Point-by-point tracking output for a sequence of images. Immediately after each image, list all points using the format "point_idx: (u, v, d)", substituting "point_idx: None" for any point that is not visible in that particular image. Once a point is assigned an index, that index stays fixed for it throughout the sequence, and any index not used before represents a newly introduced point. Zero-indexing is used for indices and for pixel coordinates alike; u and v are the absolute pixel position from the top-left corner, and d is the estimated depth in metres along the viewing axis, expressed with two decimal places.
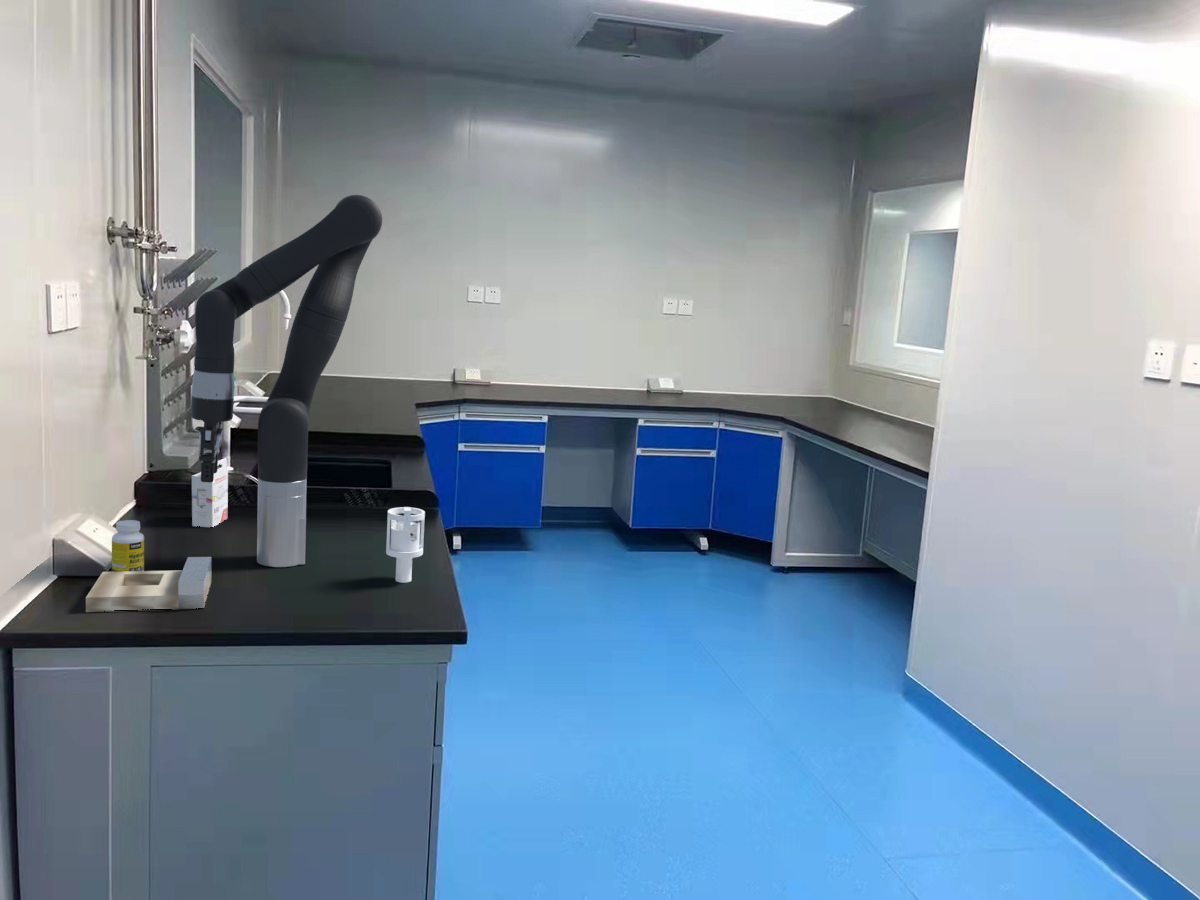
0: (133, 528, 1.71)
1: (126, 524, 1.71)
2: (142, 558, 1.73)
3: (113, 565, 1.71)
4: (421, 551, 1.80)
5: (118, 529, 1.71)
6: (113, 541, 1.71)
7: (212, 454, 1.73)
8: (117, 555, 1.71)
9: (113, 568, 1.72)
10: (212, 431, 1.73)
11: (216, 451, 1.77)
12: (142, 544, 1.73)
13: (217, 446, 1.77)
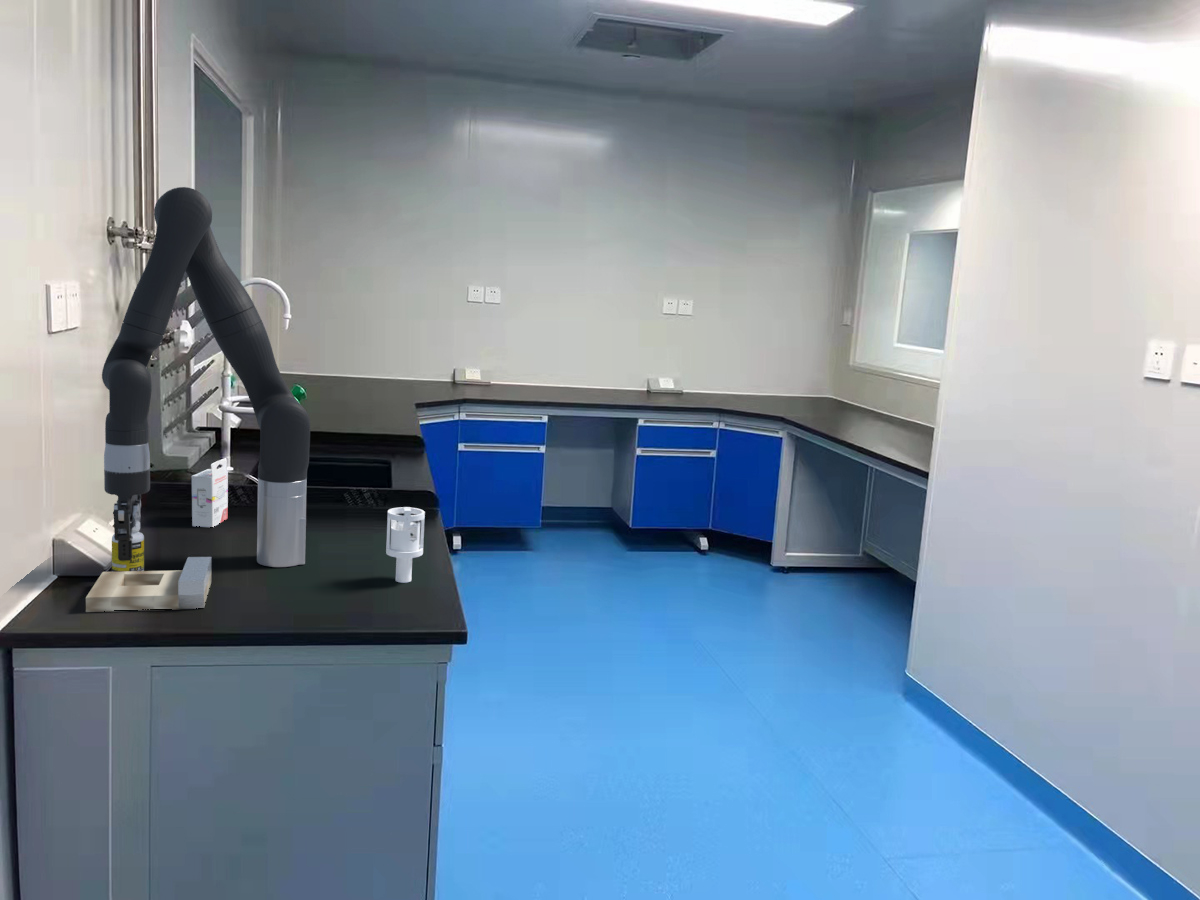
0: None
1: None
2: (142, 558, 1.73)
3: (113, 565, 1.71)
4: (421, 551, 1.80)
5: None
6: (113, 541, 1.71)
7: (127, 534, 1.67)
8: (117, 555, 1.71)
9: (113, 568, 1.72)
10: (125, 512, 1.66)
11: (133, 527, 1.70)
12: (142, 544, 1.73)
13: (133, 522, 1.70)
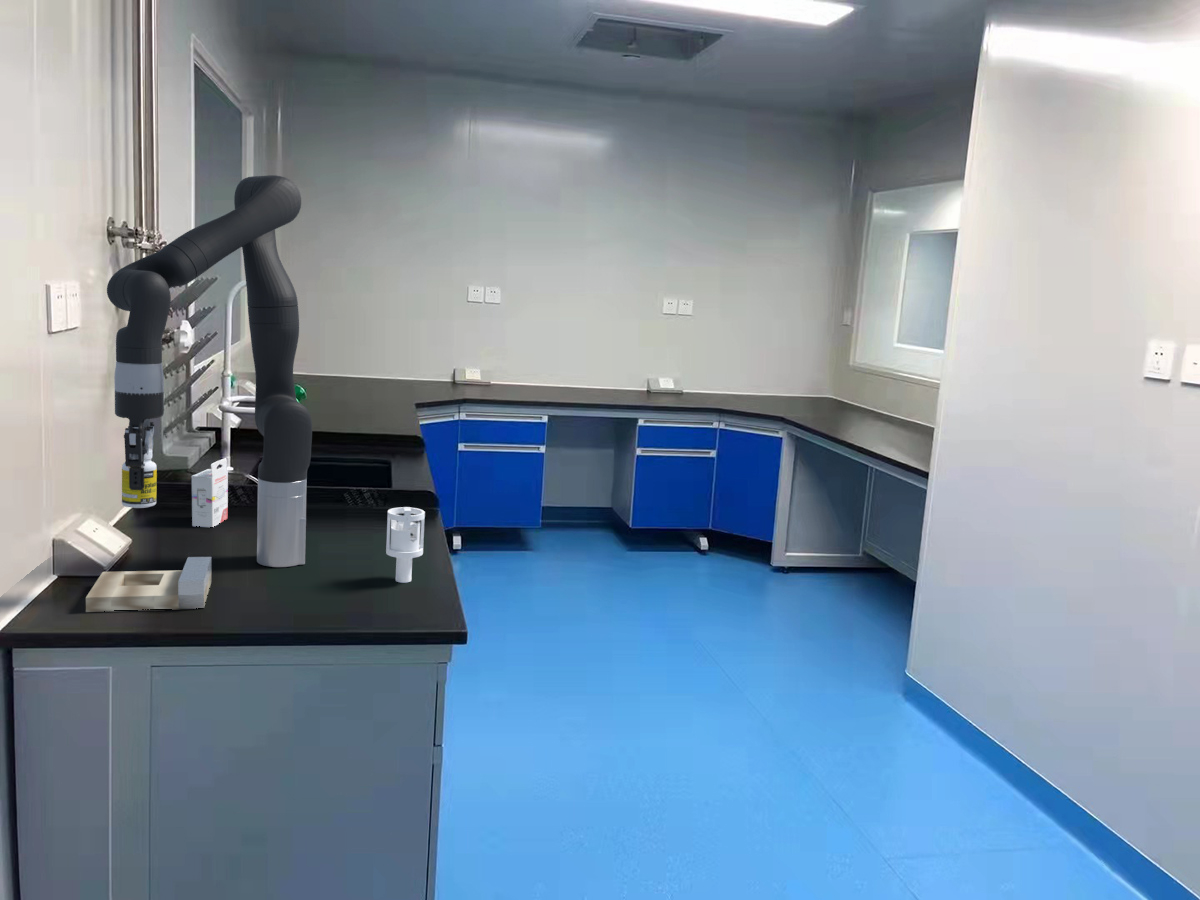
0: None
1: None
2: (154, 489, 1.61)
3: (123, 495, 1.59)
4: (421, 551, 1.80)
5: None
6: (123, 469, 1.58)
7: (139, 459, 1.55)
8: (127, 484, 1.58)
9: (123, 498, 1.59)
10: (137, 435, 1.53)
11: (145, 454, 1.58)
12: (154, 473, 1.61)
13: (146, 449, 1.57)
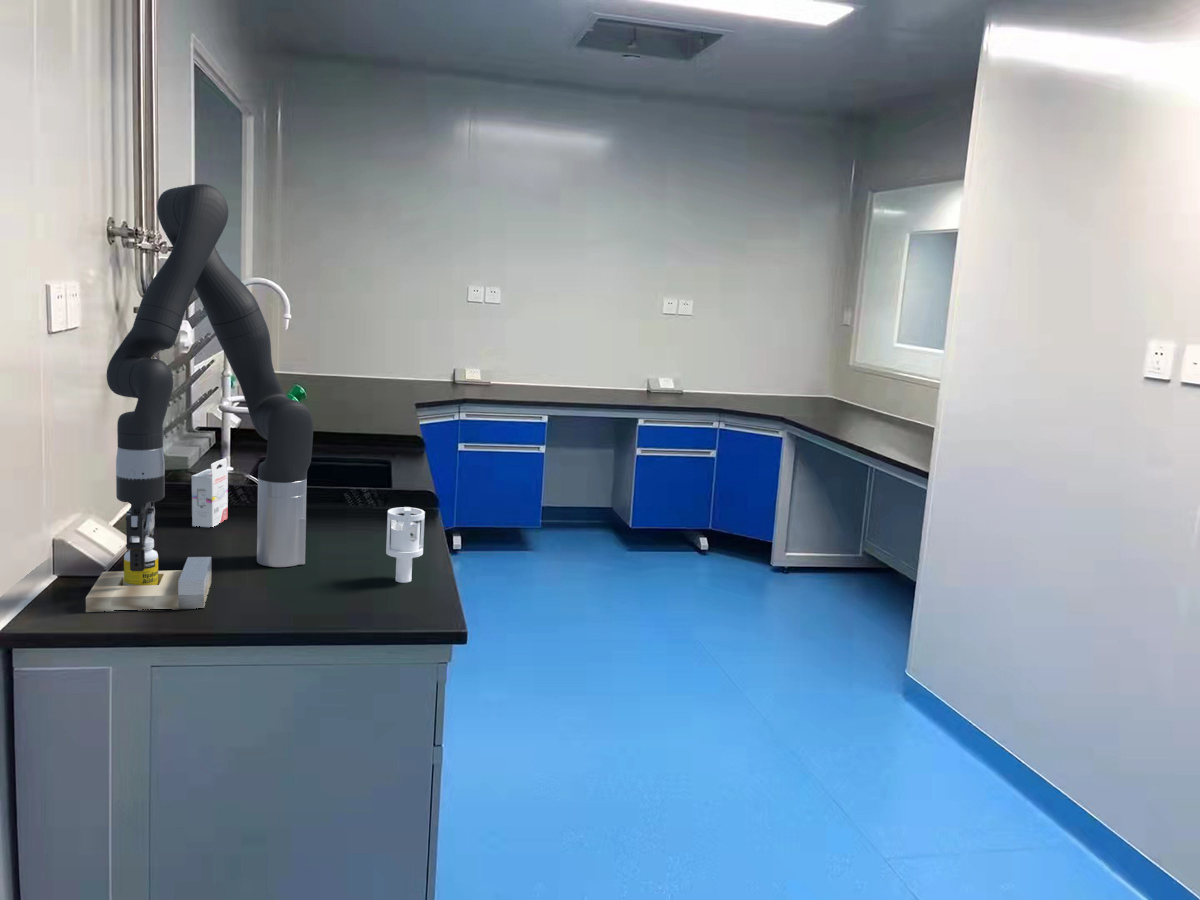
0: (146, 546, 1.61)
1: None
2: (156, 577, 1.64)
3: (125, 585, 1.61)
4: (421, 551, 1.80)
5: None
6: (125, 560, 1.61)
7: (140, 542, 1.56)
8: (129, 574, 1.61)
9: None
10: (139, 517, 1.55)
11: (146, 536, 1.59)
12: (156, 562, 1.63)
13: (147, 530, 1.59)
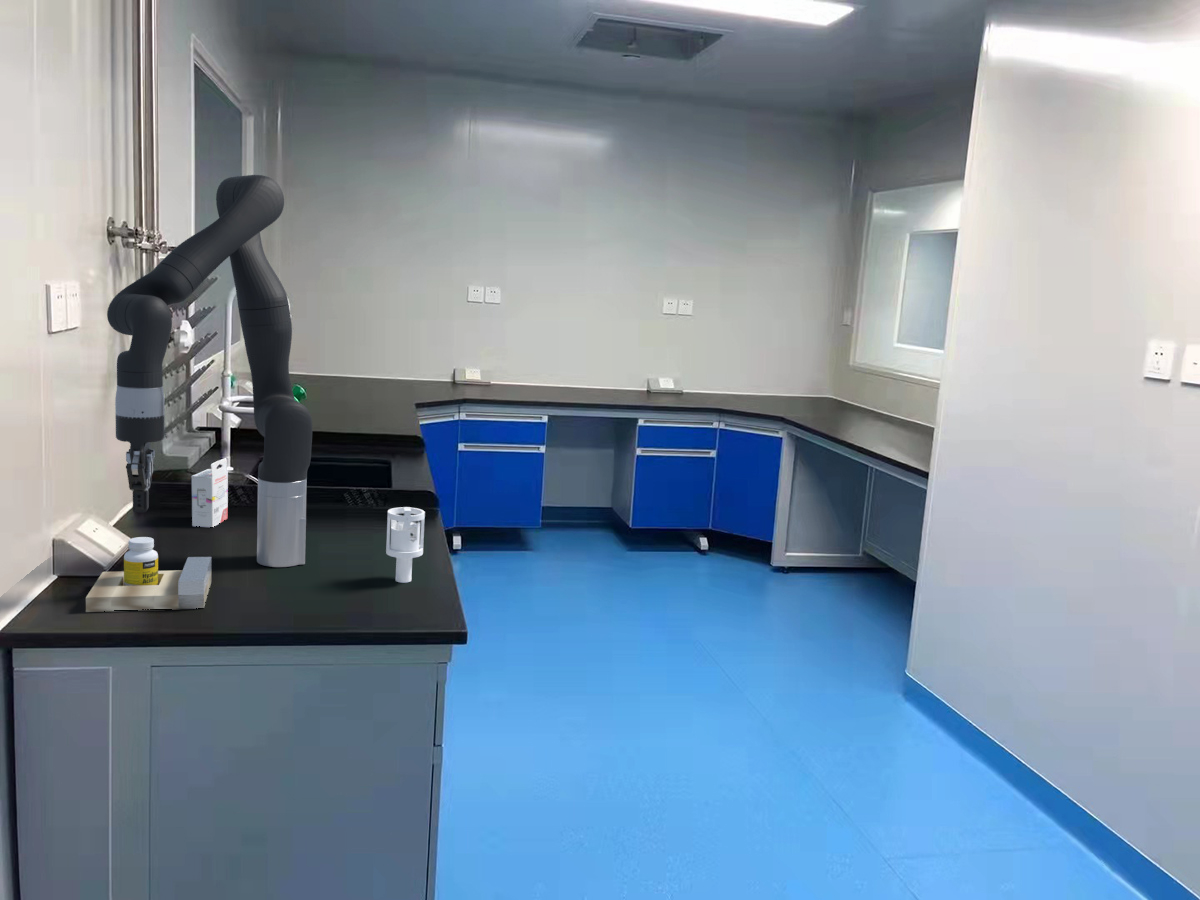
0: (146, 546, 1.61)
1: (139, 542, 1.61)
2: (156, 577, 1.64)
3: (125, 585, 1.61)
4: (421, 551, 1.80)
5: (131, 547, 1.61)
6: (125, 560, 1.61)
7: (143, 485, 1.57)
8: (129, 574, 1.61)
9: None
10: (139, 467, 1.54)
11: (148, 478, 1.60)
12: (156, 562, 1.63)
13: (148, 473, 1.59)
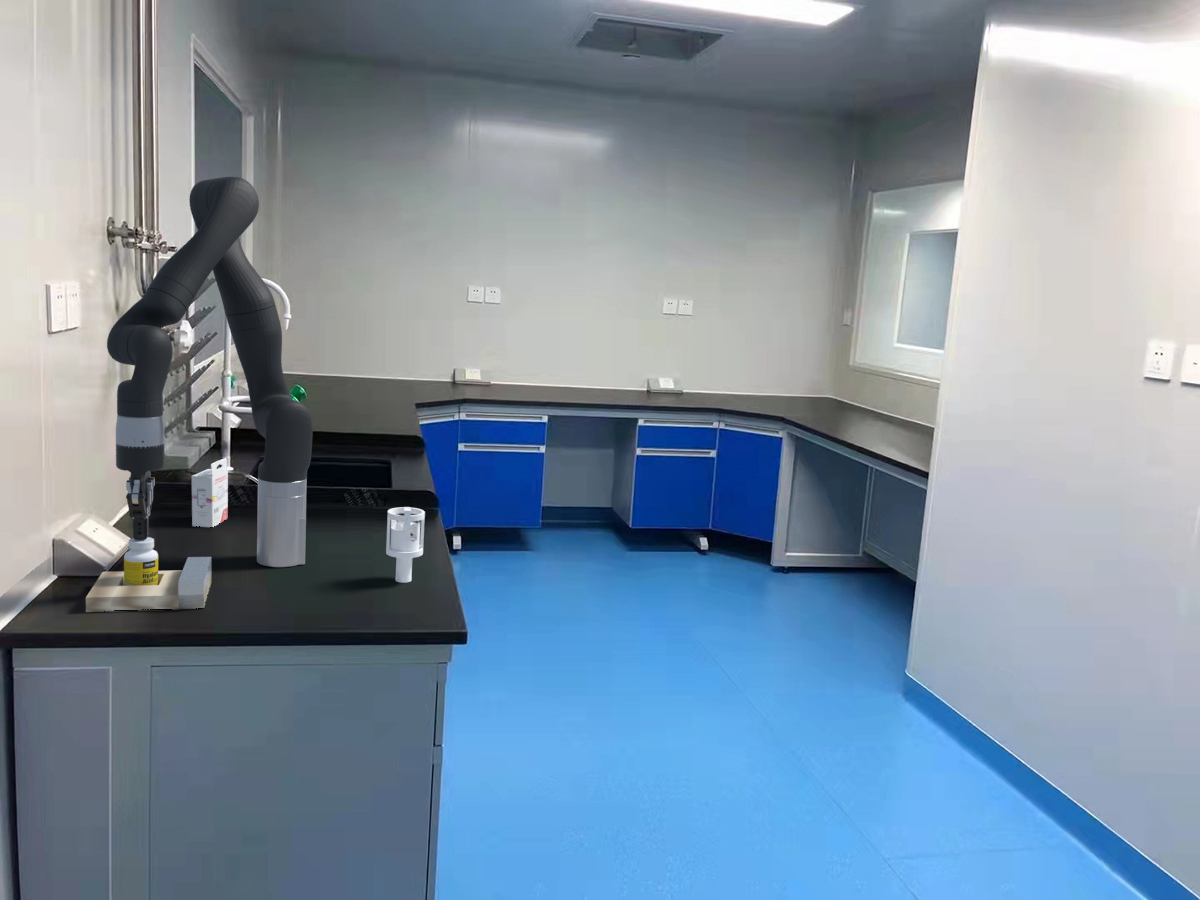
0: (146, 546, 1.61)
1: (139, 542, 1.61)
2: (156, 577, 1.64)
3: (125, 585, 1.61)
4: (421, 551, 1.80)
5: (131, 547, 1.61)
6: (125, 560, 1.61)
7: (143, 514, 1.58)
8: (129, 574, 1.61)
9: None
10: (139, 497, 1.55)
11: (148, 506, 1.61)
12: (156, 562, 1.63)
13: (148, 502, 1.60)
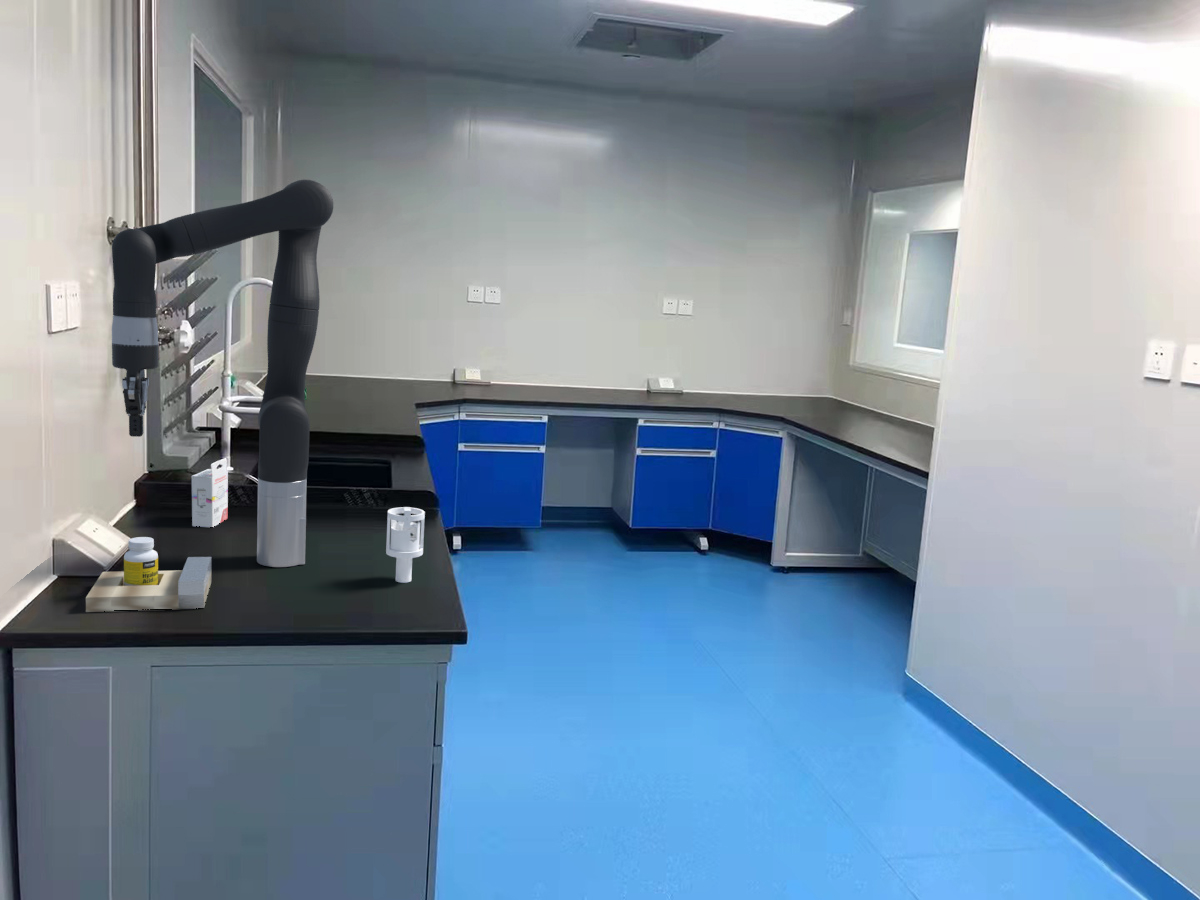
0: (146, 545, 1.61)
1: (139, 541, 1.61)
2: (156, 577, 1.64)
3: (125, 585, 1.61)
4: (421, 551, 1.80)
5: (131, 547, 1.61)
6: (125, 560, 1.61)
7: (139, 410, 1.67)
8: (129, 574, 1.61)
9: None
10: (135, 392, 1.64)
11: (143, 403, 1.70)
12: (156, 562, 1.63)
13: (143, 399, 1.69)
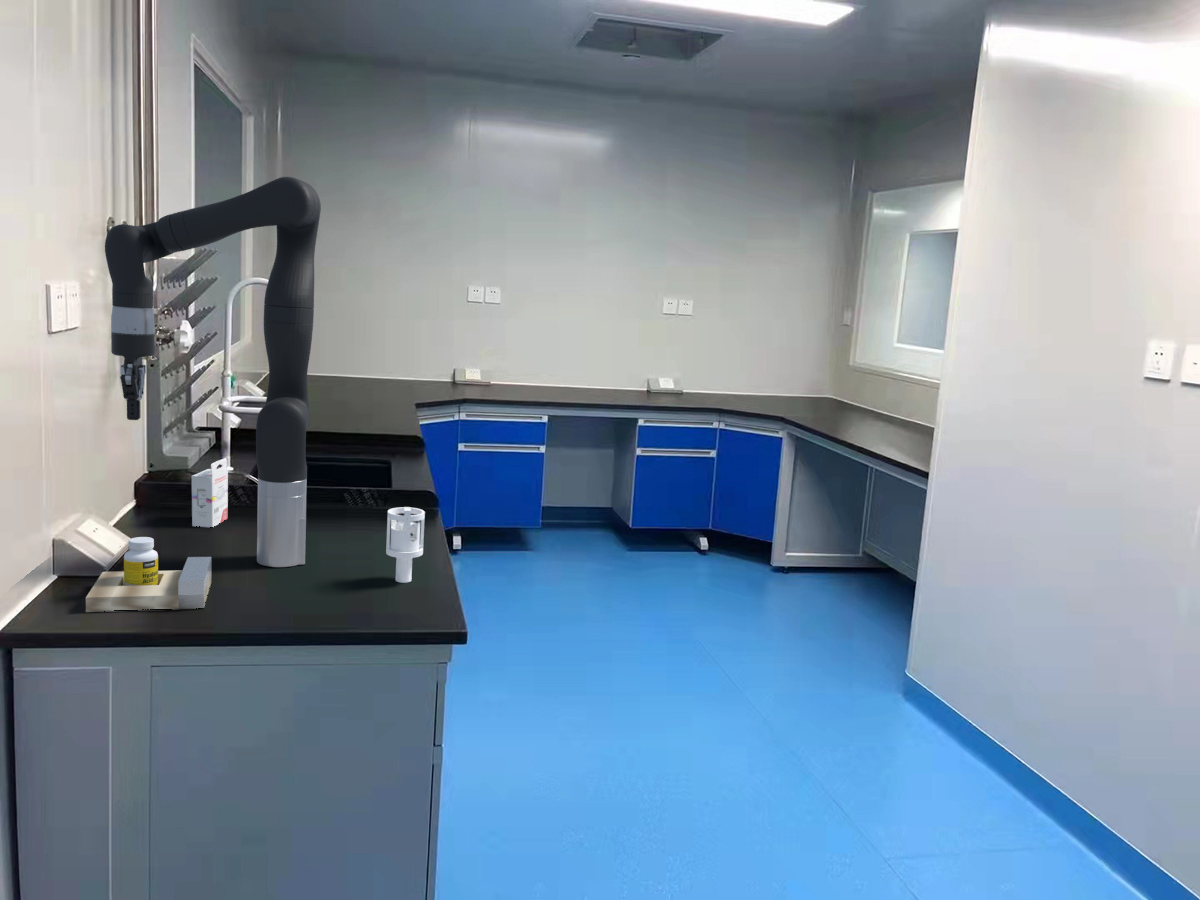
0: (146, 545, 1.61)
1: (139, 541, 1.61)
2: (156, 577, 1.64)
3: (125, 585, 1.61)
4: (421, 551, 1.80)
5: (131, 547, 1.61)
6: (125, 560, 1.61)
7: (135, 395, 1.78)
8: (129, 574, 1.61)
9: None
10: (132, 378, 1.75)
11: None
12: (156, 562, 1.63)
13: (140, 385, 1.80)
